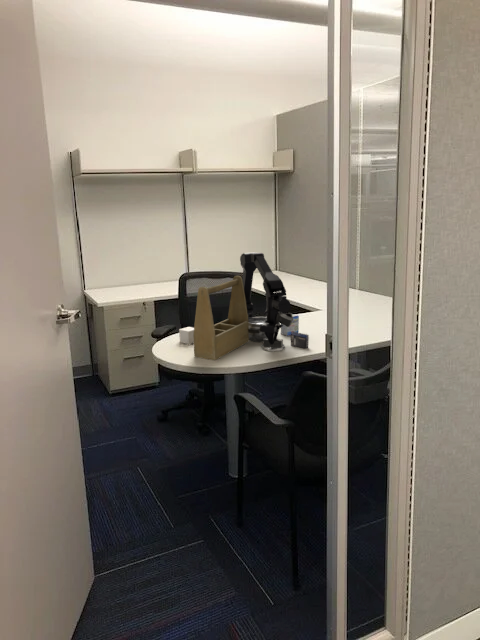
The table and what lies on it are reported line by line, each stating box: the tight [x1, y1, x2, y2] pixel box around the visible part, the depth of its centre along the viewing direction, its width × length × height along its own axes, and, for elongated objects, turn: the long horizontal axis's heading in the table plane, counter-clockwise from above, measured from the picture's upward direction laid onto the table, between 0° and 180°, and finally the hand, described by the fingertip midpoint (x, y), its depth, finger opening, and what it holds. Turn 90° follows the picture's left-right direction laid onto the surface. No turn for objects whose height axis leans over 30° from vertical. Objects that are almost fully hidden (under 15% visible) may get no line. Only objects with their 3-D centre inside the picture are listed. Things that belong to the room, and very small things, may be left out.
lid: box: [260, 338, 286, 352], centre depth 221 cm, size 10×10×4 cm
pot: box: [248, 316, 267, 343], centre depth 236 cm, size 14×19×8 cm
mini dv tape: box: [290, 332, 310, 350], centre depth 222 cm, size 8×2×6 cm, turn 48°
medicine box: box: [280, 313, 300, 336], centre depth 242 cm, size 8×4×9 cm, turn 129°
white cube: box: [178, 326, 194, 345], centre depth 232 cm, size 6×6×6 cm
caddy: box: [193, 275, 249, 361], centre depth 217 cm, size 29×11×30 cm, turn 151°
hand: (273, 343), depth 221 cm, fingers open, 4 cm apart
